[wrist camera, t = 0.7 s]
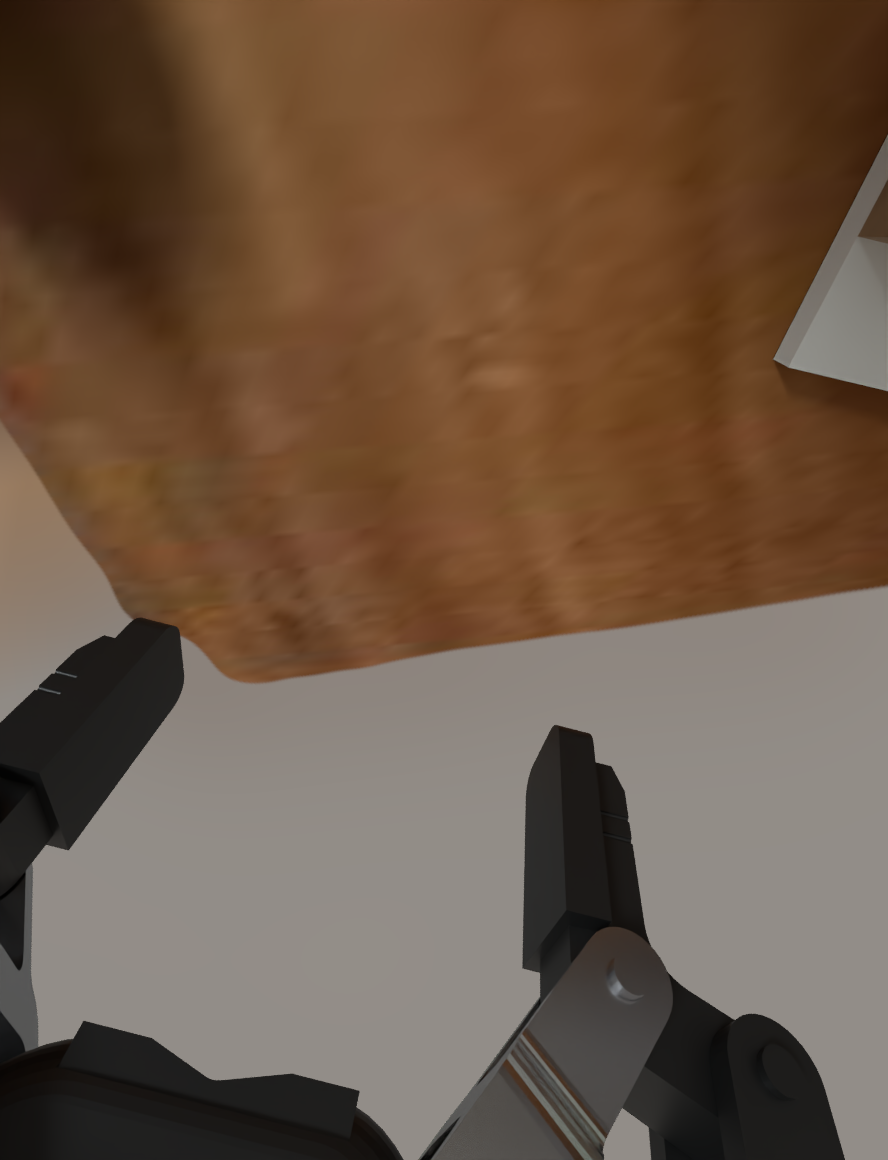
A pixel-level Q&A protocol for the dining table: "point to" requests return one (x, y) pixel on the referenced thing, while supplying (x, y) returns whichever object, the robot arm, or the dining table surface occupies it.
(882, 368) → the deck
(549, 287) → the dining table surface
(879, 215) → the block
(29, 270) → the dining table surface
